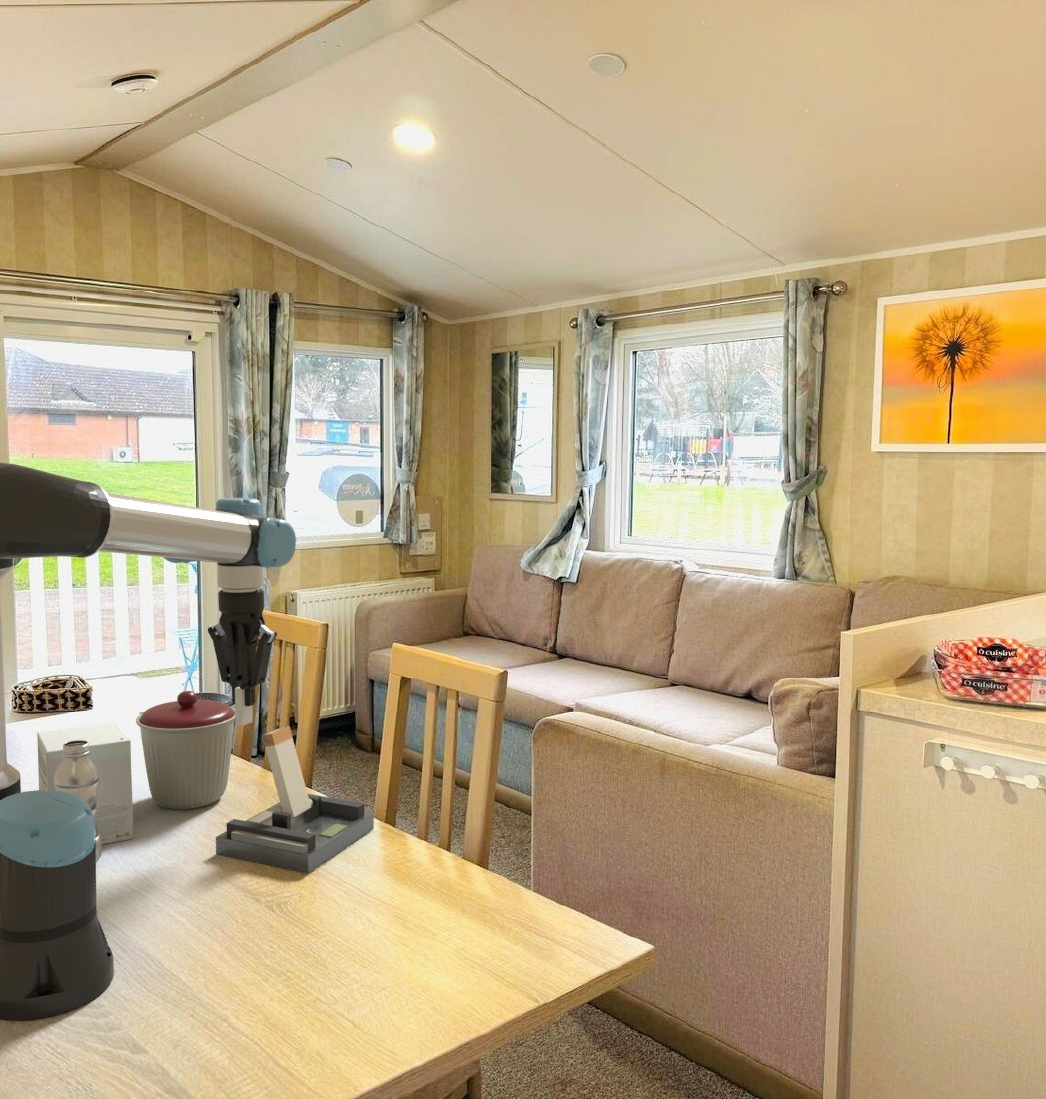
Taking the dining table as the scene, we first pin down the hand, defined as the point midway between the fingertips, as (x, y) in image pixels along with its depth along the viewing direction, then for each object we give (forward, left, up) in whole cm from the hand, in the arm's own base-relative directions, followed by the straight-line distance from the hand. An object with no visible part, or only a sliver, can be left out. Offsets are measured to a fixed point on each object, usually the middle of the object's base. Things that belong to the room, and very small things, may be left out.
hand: (244, 723), depth 169 cm
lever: (0, -11, -14) cm, 18 cm away
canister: (+8, +19, -20) cm, 28 cm away
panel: (0, -11, -19) cm, 22 cm away
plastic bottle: (-22, +15, -20) cm, 33 cm away
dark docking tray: (-1, -11, -16) cm, 20 cm away
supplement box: (-12, +24, -20) cm, 33 cm away
